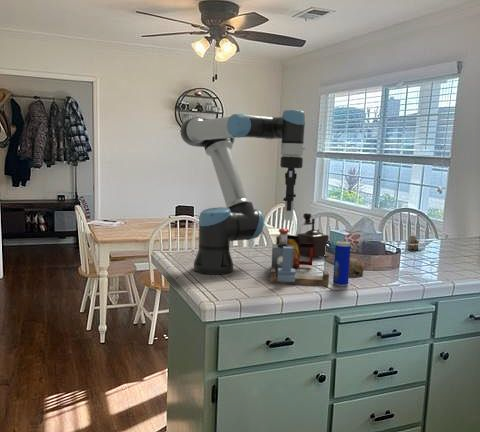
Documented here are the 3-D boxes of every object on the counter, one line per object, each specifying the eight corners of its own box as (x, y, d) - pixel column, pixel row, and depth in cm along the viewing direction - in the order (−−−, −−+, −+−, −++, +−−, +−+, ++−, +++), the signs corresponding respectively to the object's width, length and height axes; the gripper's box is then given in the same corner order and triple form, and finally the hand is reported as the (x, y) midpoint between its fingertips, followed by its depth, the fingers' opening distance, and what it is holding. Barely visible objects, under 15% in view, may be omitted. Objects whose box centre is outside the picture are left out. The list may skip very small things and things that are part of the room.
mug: (313, 268, 191) (314, 238, 190) (281, 270, 187) (282, 239, 185) (301, 262, 200) (303, 234, 199) (271, 264, 196) (272, 235, 194)
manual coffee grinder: (329, 255, 216) (331, 216, 214) (311, 258, 210) (313, 217, 208) (305, 249, 229) (307, 212, 227) (288, 251, 223) (290, 213, 220)
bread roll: (343, 285, 180) (350, 269, 177) (328, 268, 188) (335, 252, 184) (363, 283, 185) (371, 267, 181) (348, 266, 193) (355, 250, 189)
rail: (270, 282, 168) (270, 271, 167) (270, 278, 173) (271, 267, 173) (328, 285, 166) (328, 274, 165) (326, 281, 171) (327, 270, 171)
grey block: (271, 274, 179) (272, 248, 177) (271, 269, 187) (272, 243, 186) (292, 275, 178) (294, 249, 177) (292, 270, 186) (293, 244, 185)
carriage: (277, 280, 166) (278, 249, 165) (277, 275, 174) (279, 244, 172) (294, 281, 166) (296, 250, 164) (294, 276, 173) (295, 245, 172)
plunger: (278, 248, 180) (279, 229, 179) (278, 246, 184) (279, 228, 183) (287, 248, 180) (288, 230, 179) (287, 247, 183) (288, 228, 182)
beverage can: (331, 282, 171) (333, 240, 169) (345, 282, 171) (348, 241, 169) (335, 286, 165) (337, 243, 163) (349, 286, 166) (352, 243, 164)
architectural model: (420, 251, 237) (421, 236, 236) (410, 252, 234) (411, 237, 233) (415, 249, 240) (416, 235, 239) (405, 250, 237) (406, 235, 236)
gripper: (303, 156, 152) (299, 223, 155) (302, 156, 176) (299, 213, 179) (279, 156, 153) (276, 222, 155) (282, 155, 177) (279, 212, 180)
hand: (288, 217), depth 167 cm, fingers open, 13 cm apart
